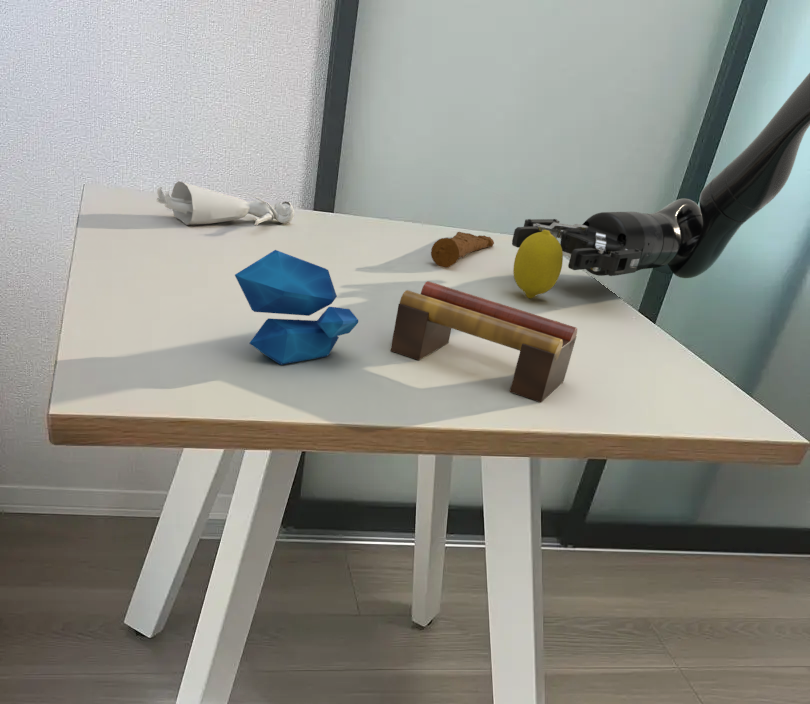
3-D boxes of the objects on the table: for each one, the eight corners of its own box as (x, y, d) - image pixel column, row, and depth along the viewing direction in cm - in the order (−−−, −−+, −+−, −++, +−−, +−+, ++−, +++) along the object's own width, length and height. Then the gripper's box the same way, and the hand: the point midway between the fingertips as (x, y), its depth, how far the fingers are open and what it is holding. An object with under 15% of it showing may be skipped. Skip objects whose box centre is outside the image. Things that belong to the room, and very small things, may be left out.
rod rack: (563, 381, 84) (580, 325, 81) (541, 402, 78) (557, 343, 75) (421, 333, 88) (432, 278, 85) (390, 350, 83) (400, 292, 80)
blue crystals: (388, 286, 76) (279, 260, 67) (355, 381, 79) (247, 369, 70) (333, 259, 80) (224, 231, 71) (305, 350, 83) (197, 335, 74)
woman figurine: (143, 167, 108) (273, 184, 119) (140, 205, 110) (268, 218, 121) (184, 193, 100) (319, 208, 111) (180, 233, 102) (312, 244, 113)
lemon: (520, 305, 103) (537, 234, 99) (498, 289, 107) (514, 221, 103) (560, 307, 105) (579, 238, 101) (538, 291, 109) (555, 225, 105)
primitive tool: (457, 235, 127) (463, 210, 125) (495, 245, 126) (500, 219, 125) (426, 264, 111) (432, 236, 109) (469, 275, 110) (475, 246, 108)
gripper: (584, 197, 116) (504, 198, 105) (677, 229, 108) (602, 233, 97) (568, 255, 120) (490, 261, 109) (657, 290, 112) (583, 300, 101)
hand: (543, 248), depth 103 cm, fingers open, 8 cm apart
